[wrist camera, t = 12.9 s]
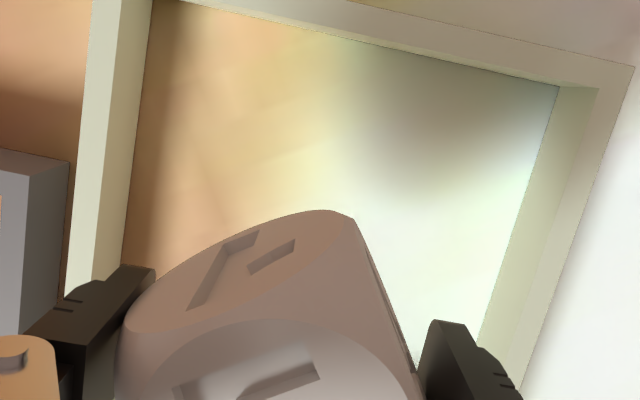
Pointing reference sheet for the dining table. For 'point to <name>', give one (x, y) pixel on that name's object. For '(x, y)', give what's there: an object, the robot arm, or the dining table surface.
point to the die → (269, 321)
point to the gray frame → (30, 237)
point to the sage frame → (397, 33)
